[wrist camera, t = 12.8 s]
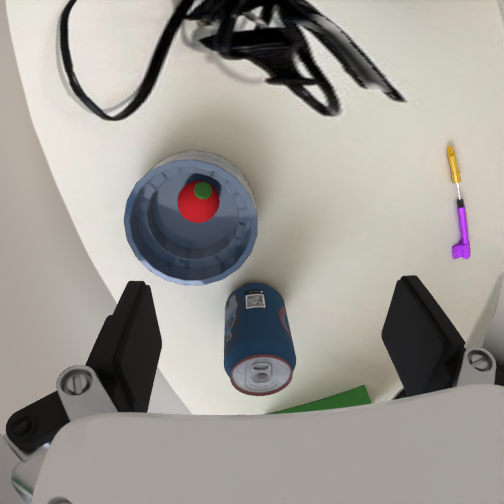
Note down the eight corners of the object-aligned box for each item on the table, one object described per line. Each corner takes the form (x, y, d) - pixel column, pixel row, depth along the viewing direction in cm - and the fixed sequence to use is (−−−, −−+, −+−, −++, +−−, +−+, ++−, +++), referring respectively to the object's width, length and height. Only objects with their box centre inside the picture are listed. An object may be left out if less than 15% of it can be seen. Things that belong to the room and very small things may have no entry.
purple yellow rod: (468, 254, 37) (451, 144, 30) (471, 259, 36) (455, 146, 29) (452, 259, 38) (432, 150, 31) (455, 264, 37) (436, 152, 30)
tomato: (173, 193, 31) (179, 170, 28) (211, 193, 33) (222, 171, 29) (176, 230, 30) (183, 210, 26) (216, 228, 32) (228, 209, 28)
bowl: (132, 155, 30) (115, 166, 25) (253, 148, 30) (256, 156, 26) (147, 262, 35) (136, 286, 31) (254, 259, 36) (257, 283, 31)
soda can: (282, 322, 40) (297, 396, 29) (227, 326, 40) (227, 401, 29) (283, 275, 37) (301, 348, 26) (223, 279, 37) (219, 354, 26)
